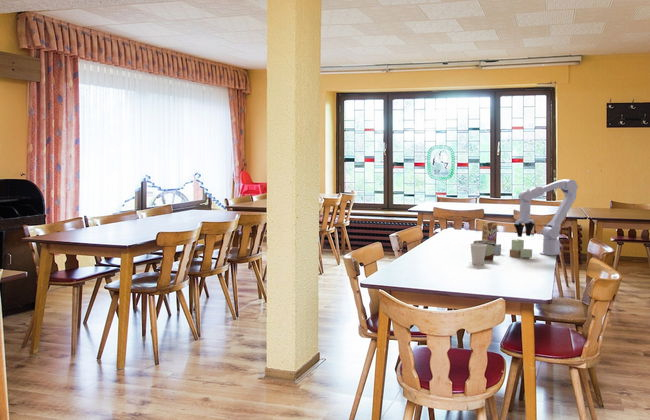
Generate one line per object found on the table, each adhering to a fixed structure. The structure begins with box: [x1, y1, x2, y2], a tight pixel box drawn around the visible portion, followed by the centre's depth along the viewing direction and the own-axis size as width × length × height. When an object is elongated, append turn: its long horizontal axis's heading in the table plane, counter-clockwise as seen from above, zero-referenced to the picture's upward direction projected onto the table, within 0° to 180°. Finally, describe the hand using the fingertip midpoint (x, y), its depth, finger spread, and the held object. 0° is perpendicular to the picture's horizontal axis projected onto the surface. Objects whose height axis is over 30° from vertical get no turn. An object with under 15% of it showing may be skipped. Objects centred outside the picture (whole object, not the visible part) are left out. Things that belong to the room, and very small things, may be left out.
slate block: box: [494, 243, 502, 256], centre depth 360 cm, size 4×4×6 cm
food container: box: [472, 239, 497, 262], centre depth 340 cm, size 12×6×10 cm, turn 65°
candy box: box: [481, 221, 498, 244], centre depth 386 cm, size 9×4×15 cm, turn 123°
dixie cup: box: [469, 243, 487, 265], centre depth 327 cm, size 8×8×10 cm
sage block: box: [511, 238, 525, 251], centre depth 351 cm, size 4×4×6 cm
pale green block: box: [520, 248, 533, 260], centre depth 345 cm, size 3×6×5 cm, turn 72°
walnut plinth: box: [509, 248, 521, 259], centre depth 351 cm, size 6×6×4 cm
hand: (523, 236), depth 357 cm, fingers open, 7 cm apart
